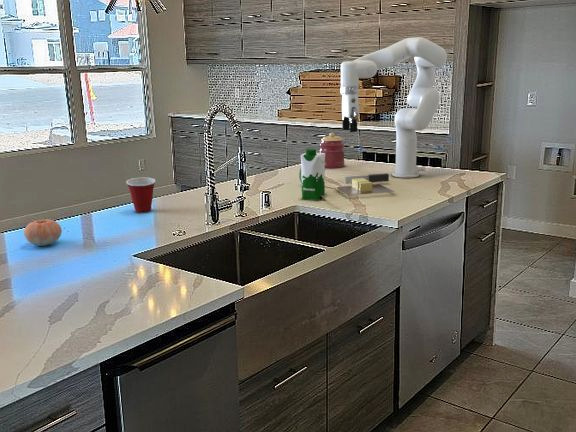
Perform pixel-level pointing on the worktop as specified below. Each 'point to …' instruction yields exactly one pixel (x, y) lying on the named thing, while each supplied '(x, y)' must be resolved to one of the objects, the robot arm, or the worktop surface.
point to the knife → (369, 178)
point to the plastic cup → (141, 193)
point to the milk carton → (313, 175)
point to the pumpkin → (42, 232)
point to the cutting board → (375, 189)
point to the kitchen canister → (333, 151)
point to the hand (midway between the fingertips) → (349, 130)
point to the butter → (357, 183)
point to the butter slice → (365, 186)
